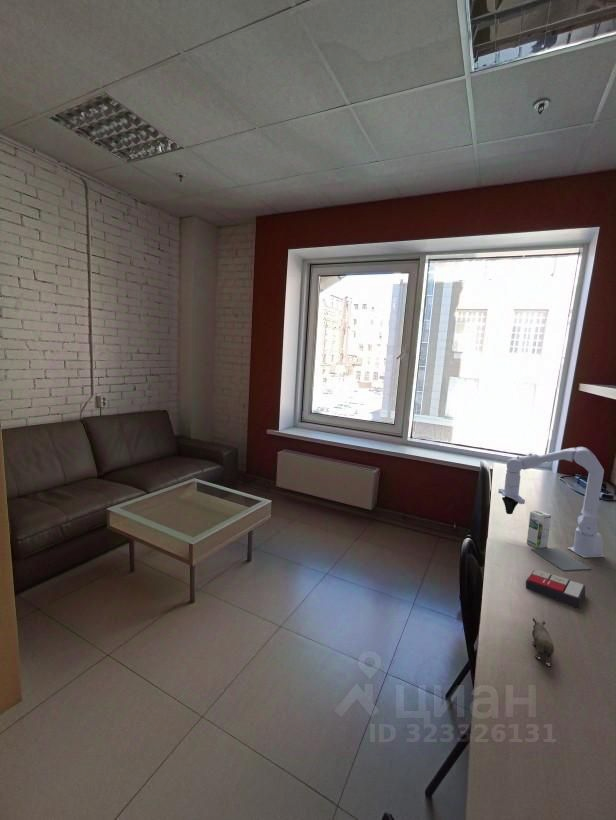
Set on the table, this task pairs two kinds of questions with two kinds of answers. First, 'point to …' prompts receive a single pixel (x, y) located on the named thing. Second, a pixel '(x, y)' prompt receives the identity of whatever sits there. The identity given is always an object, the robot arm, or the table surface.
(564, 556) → the mat
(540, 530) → the syrup box
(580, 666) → the table surface
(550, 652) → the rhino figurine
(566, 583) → the red and white box
